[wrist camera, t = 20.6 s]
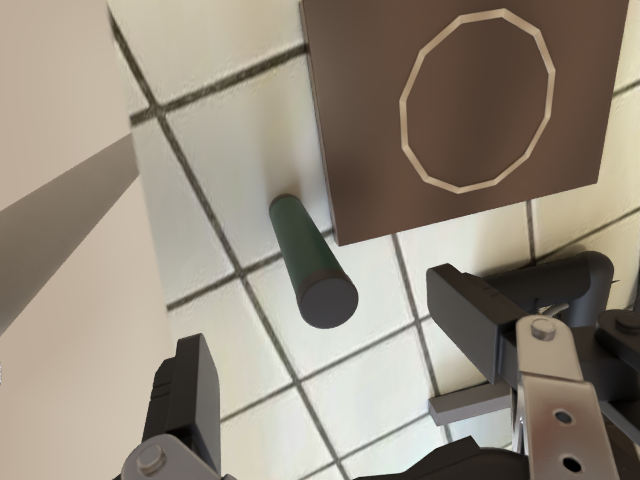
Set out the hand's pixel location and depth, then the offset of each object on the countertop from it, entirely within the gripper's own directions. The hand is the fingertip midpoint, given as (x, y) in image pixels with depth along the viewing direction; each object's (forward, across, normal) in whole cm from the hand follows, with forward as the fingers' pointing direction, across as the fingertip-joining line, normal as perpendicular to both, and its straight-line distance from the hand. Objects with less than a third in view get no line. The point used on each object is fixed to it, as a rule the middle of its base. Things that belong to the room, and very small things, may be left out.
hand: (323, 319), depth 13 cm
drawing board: (+12, -14, -4) cm, 18 cm away
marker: (+12, -1, 0) cm, 12 cm away
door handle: (+12, -18, +19) cm, 28 cm away
